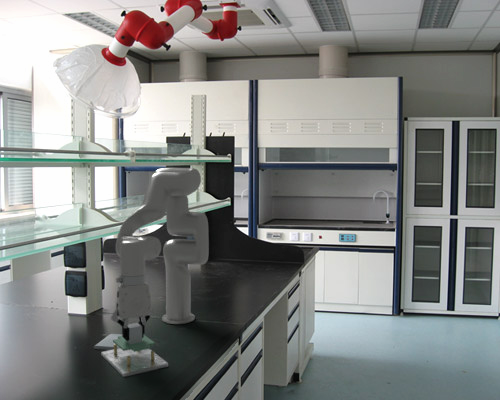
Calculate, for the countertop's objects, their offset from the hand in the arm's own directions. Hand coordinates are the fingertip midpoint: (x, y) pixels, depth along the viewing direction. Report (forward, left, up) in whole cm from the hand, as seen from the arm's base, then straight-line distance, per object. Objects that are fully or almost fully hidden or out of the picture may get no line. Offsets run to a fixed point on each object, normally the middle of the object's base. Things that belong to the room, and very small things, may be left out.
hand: (133, 337), depth 162 cm
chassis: (0, 0, -7) cm, 7 cm away
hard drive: (-19, 0, -8) cm, 20 cm away
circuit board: (0, 0, -2) cm, 2 cm away
